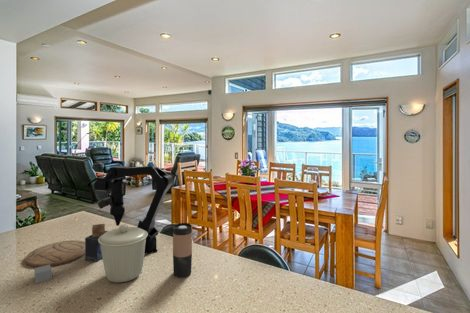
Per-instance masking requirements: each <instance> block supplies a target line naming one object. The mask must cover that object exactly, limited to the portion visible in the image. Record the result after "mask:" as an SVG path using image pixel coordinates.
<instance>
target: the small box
mask: <svg viewBox="0 0 470 313" xmlns="http://www.w3.org/2000/svg"><path fill="white" fill-rule="evenodd" d="M108 231H109V230H105V233H106V232H108ZM99 237H100V236H98V237H92V234H90V235H88V236H86V237H85V238H84V240H85V256H84V258H85V259H84V260H85V261H88V262H96V263H97V262H98V261H101V260H103V259H102V252H101V245H100V243H99V242H98V239H99Z"/></svg>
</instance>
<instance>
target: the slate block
mask: <svg viewBox="0 0 470 313" xmlns="http://www.w3.org/2000/svg"><path fill="white" fill-rule="evenodd" d="M33 269H34V282H35V284H38V283H42V282H46V281H50V280H52V279H53V276H52V275H53V274H52V273H53V272H52V267H51V266H50V264H49V265H46V266H42V267H38V268H36V267H33Z"/></svg>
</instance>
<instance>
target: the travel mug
mask: <svg viewBox="0 0 470 313" xmlns="http://www.w3.org/2000/svg"><path fill="white" fill-rule="evenodd" d="M192 227H193V226H192V224H191V223H187V222H180V223H176V224H174V225H173V226H172V259H173V260H172V262H173V263H172V266H173V267H172V268H173V276H174V277H175V278H178V279H181V278H187V277H189V276H191V274H192V265H193V263H192V260H193V257H192V256H193V230H192Z"/></svg>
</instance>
